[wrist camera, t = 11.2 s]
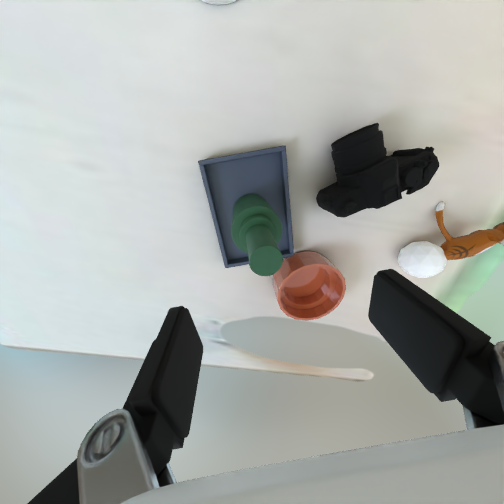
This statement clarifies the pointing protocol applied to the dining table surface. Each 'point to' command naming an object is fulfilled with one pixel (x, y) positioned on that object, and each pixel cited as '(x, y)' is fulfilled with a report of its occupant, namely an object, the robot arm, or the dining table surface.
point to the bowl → (308, 286)
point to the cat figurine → (446, 249)
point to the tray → (247, 182)
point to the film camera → (373, 173)
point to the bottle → (257, 233)
